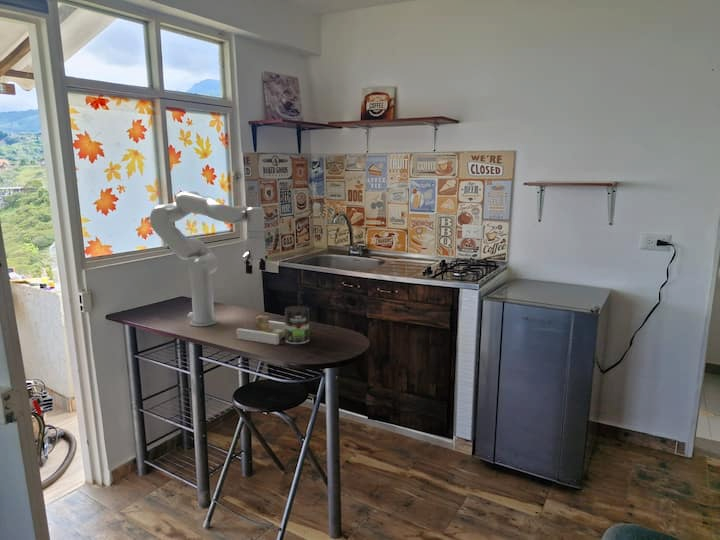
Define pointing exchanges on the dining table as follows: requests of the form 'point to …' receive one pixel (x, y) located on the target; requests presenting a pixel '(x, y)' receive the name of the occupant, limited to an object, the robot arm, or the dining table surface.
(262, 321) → the wooden rectangular block
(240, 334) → the white rectangular posts
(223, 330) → the dining table surface
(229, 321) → the dining table surface
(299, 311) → the coffee can
